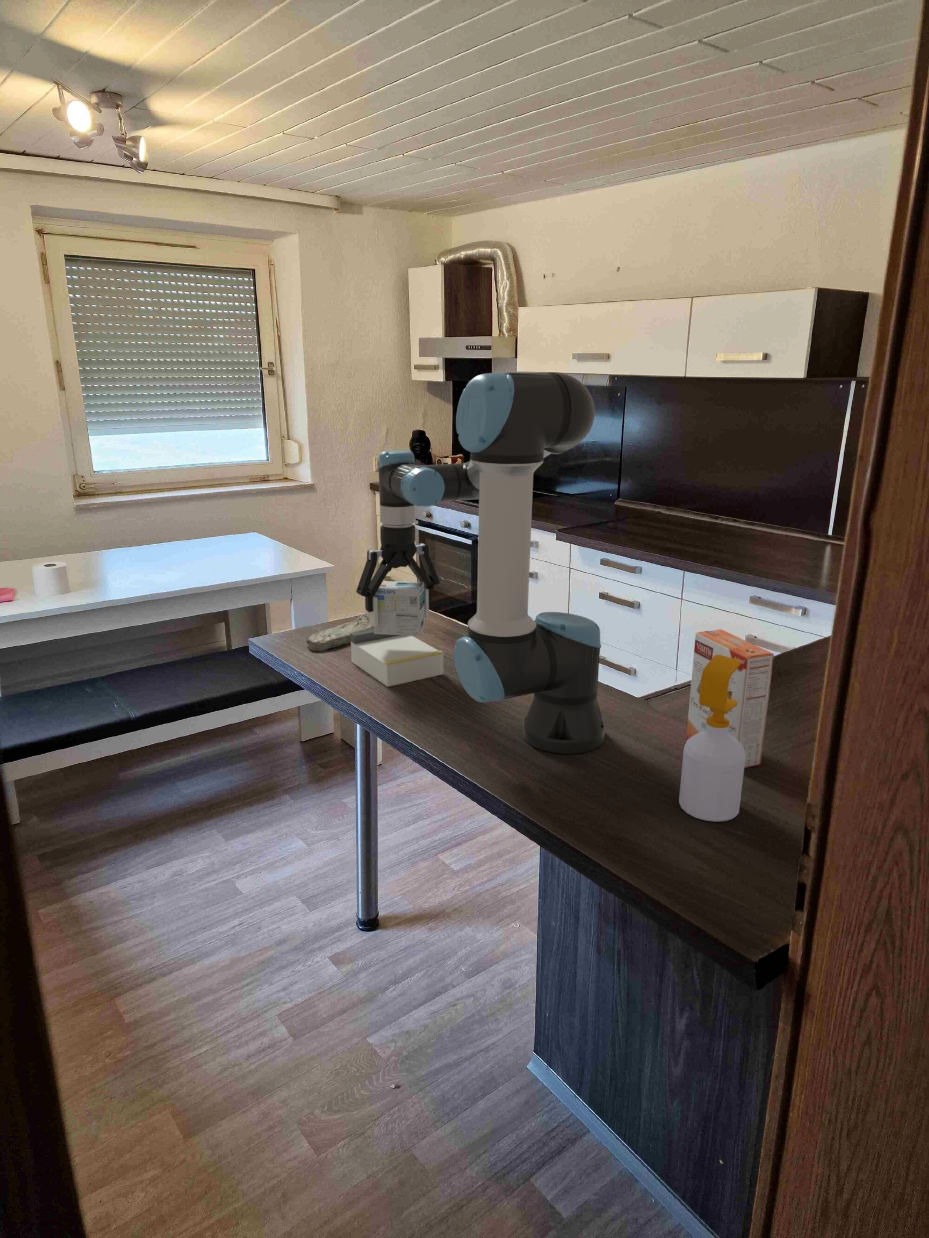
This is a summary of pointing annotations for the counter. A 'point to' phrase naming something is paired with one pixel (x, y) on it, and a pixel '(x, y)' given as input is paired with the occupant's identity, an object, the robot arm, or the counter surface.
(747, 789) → the counter surface
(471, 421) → the robot arm
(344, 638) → the elongated rock
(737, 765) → the soap bottle
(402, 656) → the platform
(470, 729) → the counter surface
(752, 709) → the cracker box
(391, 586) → the light bulb box
